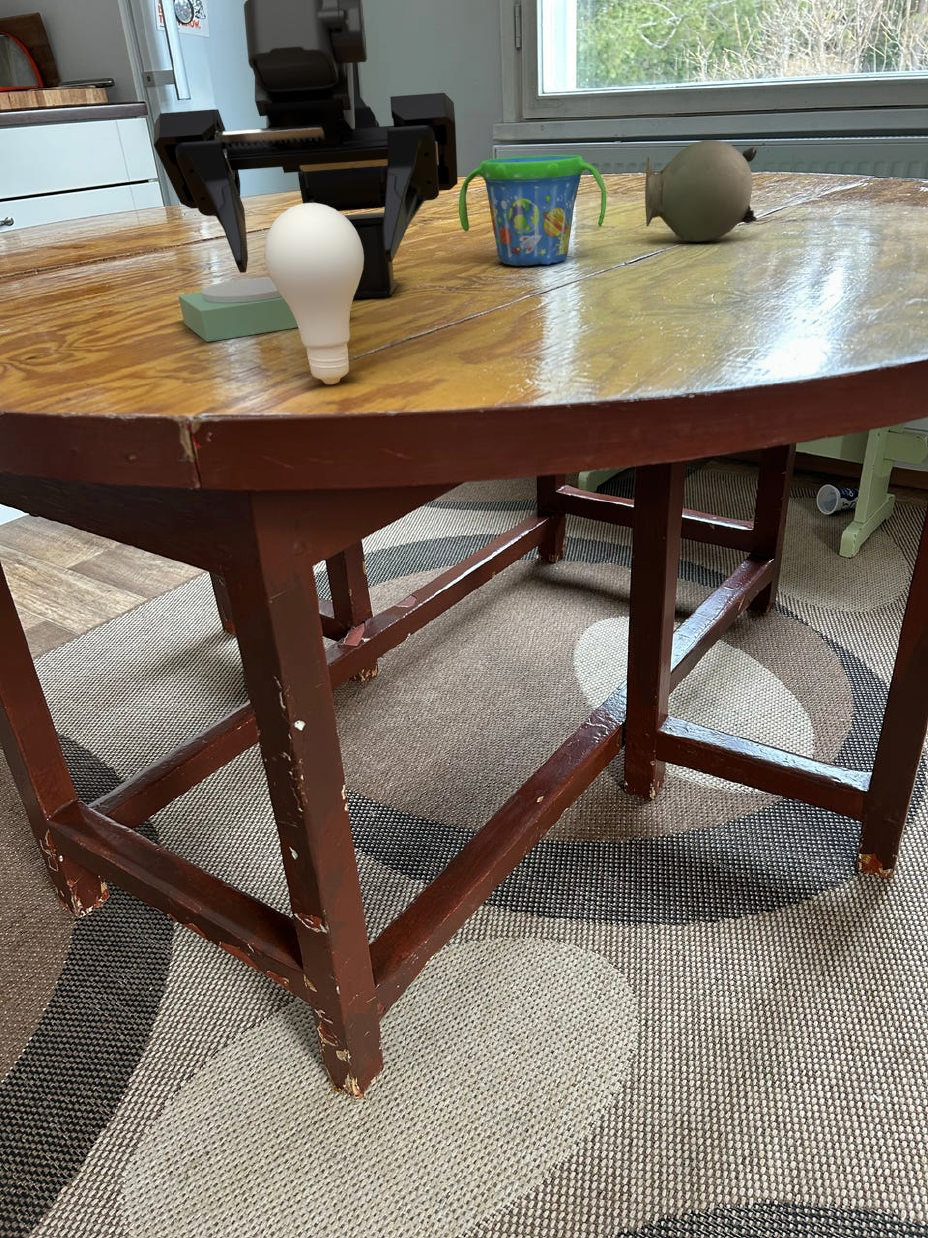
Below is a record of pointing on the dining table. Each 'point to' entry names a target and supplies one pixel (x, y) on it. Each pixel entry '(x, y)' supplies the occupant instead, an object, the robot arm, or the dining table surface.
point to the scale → (236, 309)
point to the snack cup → (531, 205)
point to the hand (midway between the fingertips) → (314, 262)
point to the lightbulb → (317, 280)
